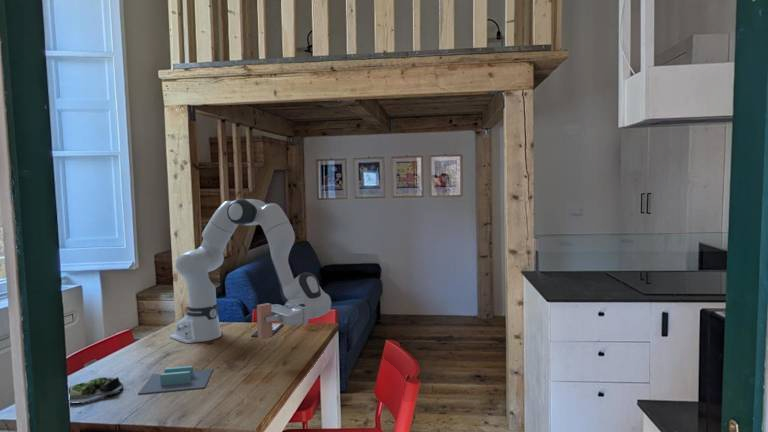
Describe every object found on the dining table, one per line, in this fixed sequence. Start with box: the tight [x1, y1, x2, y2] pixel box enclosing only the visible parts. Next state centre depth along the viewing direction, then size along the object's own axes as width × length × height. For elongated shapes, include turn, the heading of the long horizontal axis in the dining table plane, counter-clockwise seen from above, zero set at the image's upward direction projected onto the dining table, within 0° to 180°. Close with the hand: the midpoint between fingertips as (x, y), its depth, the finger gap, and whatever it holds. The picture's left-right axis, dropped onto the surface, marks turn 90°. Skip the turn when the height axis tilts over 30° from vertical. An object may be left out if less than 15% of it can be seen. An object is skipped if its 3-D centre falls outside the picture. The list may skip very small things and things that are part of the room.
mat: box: [137, 368, 214, 395], centre depth 162 cm, size 20×16×1 cm
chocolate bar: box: [250, 323, 285, 338], centre depth 218 cm, size 9×1×18 cm
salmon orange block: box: [256, 302, 274, 340], centre depth 175 cm, size 4×2×12 cm, turn 135°
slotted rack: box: [160, 365, 195, 386], centre depth 162 cm, size 9×6×4 cm
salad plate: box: [68, 376, 124, 405], centre depth 153 cm, size 19×18×5 cm
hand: (262, 318), depth 174 cm, fingers closed on salmon orange block, 2 cm apart
